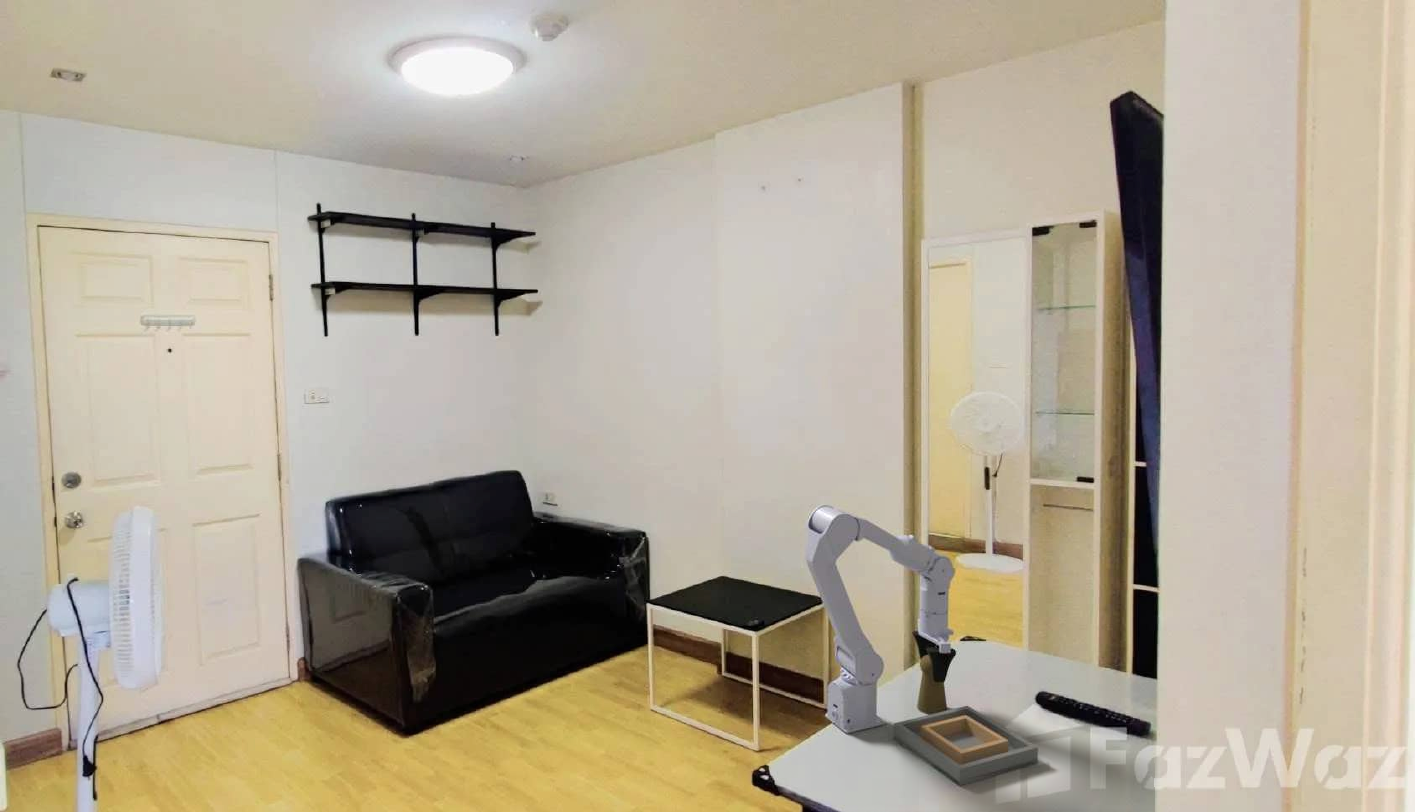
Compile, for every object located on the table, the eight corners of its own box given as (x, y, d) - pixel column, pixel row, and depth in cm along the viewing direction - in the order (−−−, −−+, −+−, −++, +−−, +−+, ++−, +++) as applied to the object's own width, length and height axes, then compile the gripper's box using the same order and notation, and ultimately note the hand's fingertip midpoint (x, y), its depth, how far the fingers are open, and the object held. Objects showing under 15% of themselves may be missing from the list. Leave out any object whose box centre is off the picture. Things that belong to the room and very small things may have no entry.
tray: (959, 786, 134) (959, 767, 133) (894, 738, 150) (894, 721, 150) (1037, 763, 141) (1037, 745, 141) (967, 720, 157) (967, 704, 157)
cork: (911, 704, 164) (912, 653, 164) (936, 700, 166) (937, 650, 165) (927, 717, 159) (928, 664, 158) (953, 712, 160) (954, 660, 160)
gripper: (966, 621, 154) (965, 688, 155) (940, 598, 168) (939, 659, 169) (931, 622, 153) (930, 689, 154) (908, 598, 168) (907, 660, 169)
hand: (932, 673), depth 162 cm, fingers open, 7 cm apart
